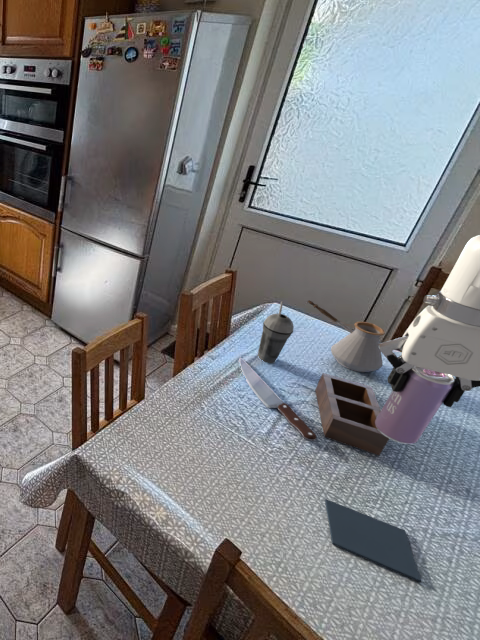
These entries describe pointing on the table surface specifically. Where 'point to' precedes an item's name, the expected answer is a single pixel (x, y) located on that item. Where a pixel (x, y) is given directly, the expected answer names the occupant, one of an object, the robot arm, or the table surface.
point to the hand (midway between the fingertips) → (419, 393)
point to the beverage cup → (274, 336)
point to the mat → (371, 539)
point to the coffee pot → (357, 345)
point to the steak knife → (274, 401)
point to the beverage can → (413, 405)
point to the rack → (349, 413)
